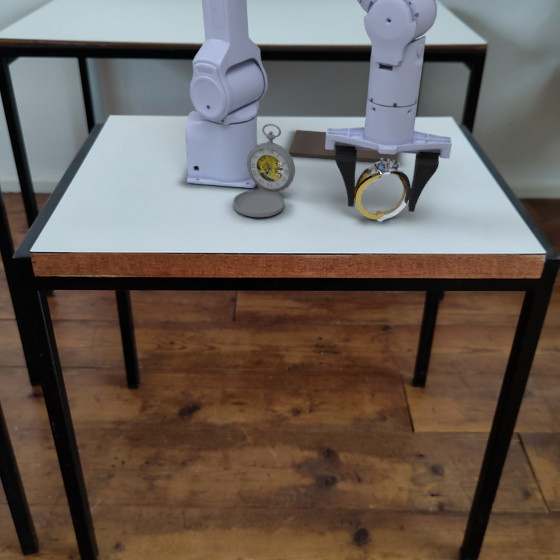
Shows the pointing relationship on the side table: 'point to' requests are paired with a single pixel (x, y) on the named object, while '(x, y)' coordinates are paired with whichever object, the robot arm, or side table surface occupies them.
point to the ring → (382, 169)
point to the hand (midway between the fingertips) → (380, 205)
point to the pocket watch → (266, 178)
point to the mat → (315, 148)
